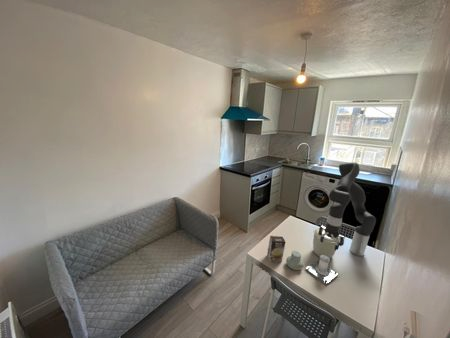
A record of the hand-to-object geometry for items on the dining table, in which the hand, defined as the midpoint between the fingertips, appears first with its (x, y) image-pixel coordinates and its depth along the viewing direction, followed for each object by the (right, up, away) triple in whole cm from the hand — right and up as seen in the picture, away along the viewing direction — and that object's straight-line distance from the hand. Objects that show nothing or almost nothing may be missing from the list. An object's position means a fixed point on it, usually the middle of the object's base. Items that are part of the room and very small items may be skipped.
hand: (328, 245), depth 118 cm
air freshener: (-18, -18, +10) cm, 27 cm away
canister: (+8, -16, +24) cm, 30 cm away
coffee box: (-30, -16, +16) cm, 37 cm away
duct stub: (-1, -18, +5) cm, 19 cm away
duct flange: (-2, -20, +6) cm, 21 cm away
